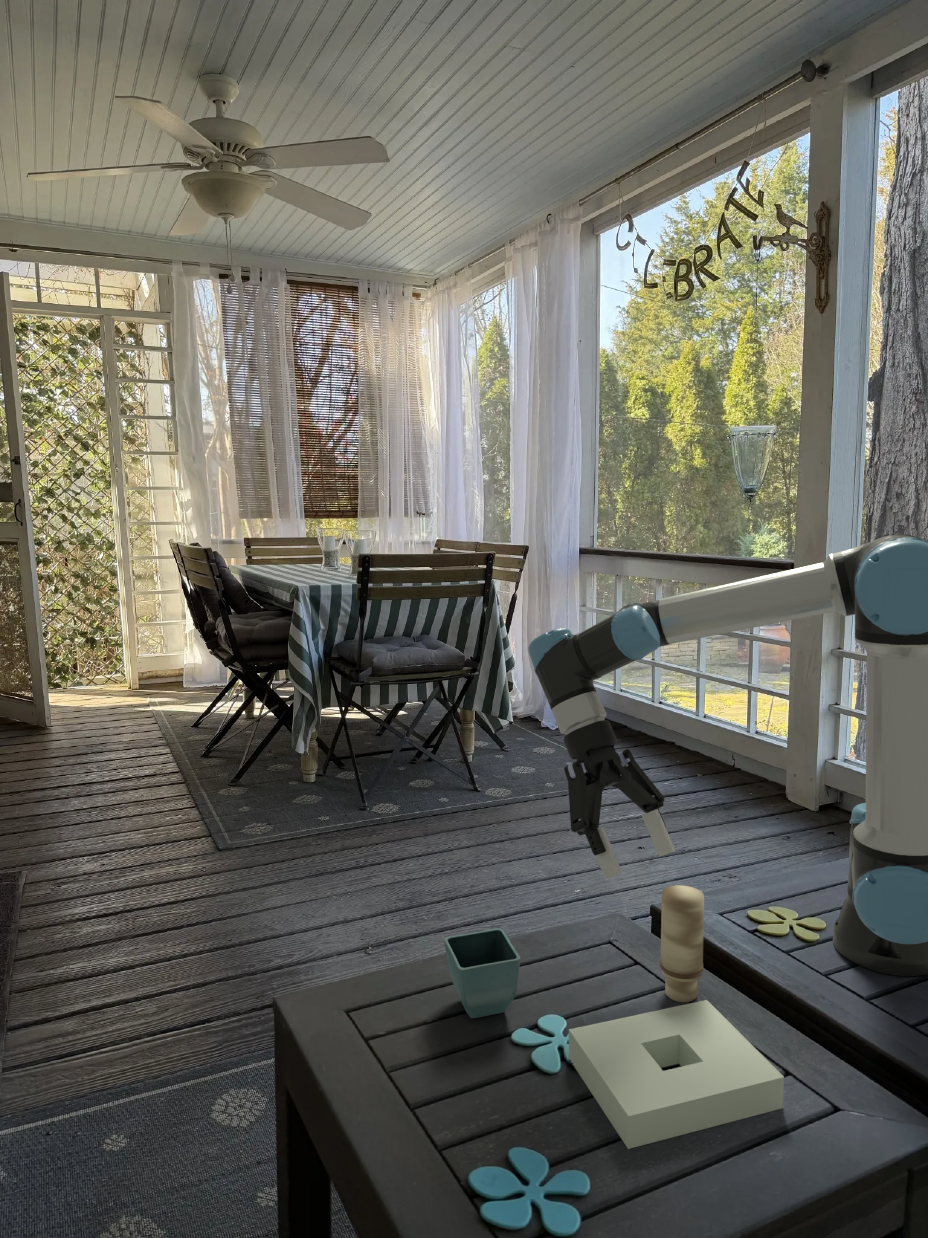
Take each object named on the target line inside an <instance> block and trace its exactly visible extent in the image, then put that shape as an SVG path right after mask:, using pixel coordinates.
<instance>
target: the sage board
mask: <svg viewBox="0 0 928 1238" xmlns="http://www.w3.org/2000/svg"><path fill="white" fill-rule="evenodd" d="M741 1033H742V1032H741ZM741 1033H740V1031H739V1030H738V1029H737V1028H736V1027H734V1025H733V1024H731V1022H730V1021H729V1020H728V1019H727V1018H725V1016H724V1015H722V1013H721V1012H720V1011H719V1010H718V1009H717V1008H715V1007H714V1005H712V1003H711V1002H710V1001H708V1000H707V999H704V1000H699V1001H695V1002H691V1003H686V1004H682V1005H675V1006H673V1007H666V1008H664V1009H663V1008H662V1009H659V1010H654V1011H649V1012H643V1013H639V1014H634V1015H630V1016H626V1017H620V1018H616V1019H611V1020H608V1021H602V1022H601V1021H600V1022H598V1023H592V1024H589V1025H587V1024H586V1025H583V1026H578V1027H574V1028H569V1029H568V1059H569V1058H570V1059H569V1061H570V1060H571V1061H572V1062H573V1064H572V1065H573V1067H574V1069H575V1070H576V1072H577V1074H578V1075H579V1076H580V1078H581V1079H582V1081H583V1082H584V1084H585V1086H586V1087H587V1088H588V1090H589V1092H590V1093H591V1095H592V1096H593V1098H594V1099H595V1101H596V1102H597V1104H598V1105H599V1107H600V1108H601V1110H602V1111H603V1113H604V1114H605V1116H606V1117H607V1119H608V1120H609V1122H610V1123H611V1126H612V1127H613V1128H614V1129H615V1131H616V1133H617V1134H618V1136H619V1137H620V1139H621V1140H622V1142H623V1143H624V1145H625V1146H626V1149H627V1150H630V1149H633V1148H636V1147H637V1148H638V1147H641V1146H645V1145H649V1144H652V1143H656V1142H660V1141H664V1140H669V1139H671V1138H676V1137H679V1136H683V1135H686V1134H690V1133H694V1132H698V1131H702V1130H706V1129H709V1128H713V1127H716V1126H721V1125H724V1124H728V1123H733V1122H736V1121H740V1120H744V1119H747V1118H751V1117H754V1116H758V1115H759V1116H760V1115H762V1114H766V1113H771V1112H774V1111H778V1110H782V1109H784V1089H785V1087H784V1086H785V1085H784V1084H785V1076H784V1075H783V1074H782V1073H781V1072H780V1071H779V1070H778V1069H777V1068H776V1067H775V1066H774V1065H773V1064H772V1063H771V1062H770V1061H769V1060H768V1059H767V1058H766V1057H764V1055H763V1054H762V1053H761V1052H760V1051H759V1050H758V1049H756V1047H754V1045H752V1043H751V1042H750V1041H749V1040H748V1039H746V1037H744V1035H743V1034H741ZM571 1061H570V1062H571ZM572 1062H571V1063H572ZM678 1064H679V1066H678V1067H674V1068H672V1069H671V1068H670V1069H667V1070H663V1069H662V1068H667V1067H670V1066H674V1065H678Z"/></svg>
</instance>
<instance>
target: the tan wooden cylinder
mask: <svg viewBox="0 0 928 1238" xmlns="http://www.w3.org/2000/svg"><path fill="white" fill-rule="evenodd" d="M660 917H661V921H660V922H661V923H660V924H661V926H660V927H661V928H660V960H659V967H660V972H661V973H662V974H663V976H664V978H665V979H664V982H665V983H664V987H665V988H664V993H665V995H666V996H667V997H668V998H669V999H671V1000H672V1001H675V1002H678V1003H689V1002H693V1001H694V1000H696V999H697V996H698V980H700V979H701V978H702V976H703V973H704V962H703V961H704V931H705V930H704V925H705V923H704V922H705V919H704V918H705V894H704V893H703V892H702V891H701V890H700V889H697V888H695V887H692V886H687V885H677V884H676V885H670V886H667V887H665V888H663V889H662V891H661V916H660Z"/></svg>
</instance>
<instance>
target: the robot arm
mask: <svg viewBox="0 0 928 1238" xmlns="http://www.w3.org/2000/svg"><path fill="white" fill-rule="evenodd" d="M829 613H838V614H839V615H841V616H843V617H847V616H848V617H849V616H854V641H856V643H857V644H859V645H860V646H861V647H862V648H863V649H864V650H865V652H866V704H865V705H866V708H865V709H866V716H865V717H866V723H865V724H866V725H865V727H866V728H865V729H866V731H865V802H862V803H859V804H857V805H855V806H854V807H852V808H853V809H851V816H850V820H849V824H850V831H849V832H850V834H849V852H848V853H849V854H848V873H847V892H846V893H847V894H846V898H845V899H844V902H843V904H842V907H841V909H840V911H839V915H838V917H837V919H836V920H835V921H834V924H833V929H832V943H833V945H834V948H835V949H836V950H837V951H838V953H840V954H841V956H843V957H845V959H847V960H849V961H851V963H852V962H853V963H854V964H856V965H858V966H861V967H862V968H865V969H868V970H871V971H873V972H874V971H875V972H877V973H881V974H886V975H892V976H898V977H899V976H900V977H917V976H923V975H927V974H928V540H926V539H923V538H921V537H918V536H915V535H910V534H903V533H902V534H901V533H897V534H889V535H886V536H883V537H880V538H877V539H874V540H871V541H869V542H867V543H864V544H861V545H857V546H855V547H852V548H847V549H843V550H841V551H836V552H833V553H832V552H831V553H829V554H828V556H827V557H826V559H825V560H824V561H823V562H818V563H814V564H810V565H805V566H801V567H796V568H793V569H788V570H783V571H779V572H775V573H770V574H765V575H761V576H756V577H753V578H748V579H747V578H746V579H743V580H739V581H734V582H731V583H726V584H721V585H717V586H712V587H707V588H703V589H698V590H695V591H690V592H685V593H681V594H677V595H672V596H669V597H668V596H667V597H664V598H663V597H662V598H660V599H657V600H651V601H647V602H633V603H629V604H626V605H624V606H623V607H622V608H620V609H619V610H618V611H617V612H615V613H614V614H612V615H610V616H608V617H607V618H605V619H603V620H601V621H600V622H598V623H596V624H594V625H592V626H591V627H589V628H587V629H585V630H583V631H581V632H578V633H576V634H573V633H572V631H571V630H570V629H569V628H566V627H558V628H555V629H552V630H550V631H548V632H543V633H542V634H540V635H538V636H537V637H535V638H534V639H533V640H532V641H531V642H530V644H529V645H528V654H529V656H530V659H531V663H532V666H533V671H534V674H535V675H536V677H537V680H538V681H539V684H540V686H541V688H542V690H543V693H544V695H545V698H546V700H547V703H548V705H549V708H550V710H551V712H552V713H553V717H554V720H555V722H556V724H557V726H558V730H559V732H560V734H562V735H564V737H563V743H564V745H565V749H566V751H567V753H568V755H569V757H570V759H571V760H573V761H574V762H571V763H570V764H568V765H566V766H564V768H563V769H564V774H565V777H566V780H567V785H568V788H567V789H568V802H569V803H568V804H569V805H568V806H569V818H570V819H569V820H570V821H569V822H570V828H571V831H572V832H573V833H577V835H578V836H584V835H585V837H586V840H587V842H588V845H589V847H590V849H591V852H592V853H593V855H594V856H595V858H596V860H597V863H598V866H599V867H600V870H601V873H602V875H603V878H604V879H605V880H607V879H609V878H612V877H615V876H617V875H620V874H622V873H623V870H622V869H621V866H620V864H619V860H618V859H617V855H616V854H615V852H614V848H613V846H612V844H611V842H610V839H609V836H608V835H607V831H606V829H605V826H604V827H601V828H599V827H600V817H601V811H602V809H601V808H602V800H603V799H602V798H603V791H604V789H605V788H608V787H613V788H617V789H618V790H619V791H621V793H623V794H624V795H625V796H626V797H627V798H628V799H629V800H631V802H632V803H634V804H635V805H636V806H637V807H638V808H639V809H640V810H642V811H643V812H644V814H642V815H641V817H642V821H643V823H644V825H645V827H646V829H647V831H648V834H649V836H650V838H651V841H652V843H653V846H654V848H655V851H656V853H657V855H658V857H659V858H660V857H663V856H665V855H668V854H670V853H673V852H676V851H677V850H676V848H675V846H674V844H673V841H672V838H671V837H670V834H669V832H668V829H667V825H666V823H665V821H664V818H663V815H662V814H661V811H660V809H661V808H662V807H664V802H665V796H664V795H663V794H662V793H661V791H660V790H659V789H658V787H657V786H656V785H655V784H654V783H653V781H652V780H651V779H650V777H649V776H648V775H647V774H646V772H645V771H644V770H643V768H641V766H640V765H639V764H638V763H637V761H636V759H635V757H634V755H633V754H632V751H631V750H630V749H629V748H626V749H623V750H622V751H619V752H617V751H616V750H615V745H616V744H617V742H618V739H617V736H616V734H615V732H614V729H613V726H612V724H611V723H610V721H608V719H605V718H606V717H607V715H608V714H607V712H606V709H605V707H604V705H603V703H602V701H601V698H600V697H599V694H598V691H597V689H596V687H595V685H594V681H595V680H598V679H600V678H601V677H603V676H605V675H608V674H610V673H612V672H614V671H616V670H617V671H618V670H619V669H620V668H623V667H626V666H627V665H629V664H631V663H633V662H635V661H640V660H643V659H644V658H645V657H646V656H648V655H650V654H651V653H653V652H654V651H655V652H656V650H658V649H659V648H660V647H665V646H669V645H673V644H677V643H683V642H688V641H692V640H698V639H703V638H708V637H714V636H718V635H723V634H728V633H734V632H739V631H744V630H748V629H753V628H758V627H763V626H768V625H773V624H774V625H775V624H778V623H784V622H789V621H793V620H798V619H803V618H809V617H814V616H820V615H824V614H829Z"/></svg>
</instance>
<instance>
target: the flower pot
mask: <svg viewBox="0 0 928 1238" xmlns="http://www.w3.org/2000/svg"><path fill="white" fill-rule="evenodd" d="M443 939H444V940H443V941H444V947H445V955H446V961H447V966H448V967H447V968H448V971H449V972H448V973H449V975H450V979H451V981H452V984H453V986H454V989H455V991H456V992H457V995H458V997H459V999H460V1002H461V1004H462V1006H463V1009H464V1010H465V1012H466V1014H467V1015H468V1017H469V1018H470V1019H478V1018H482V1017H483V1018H484V1017H488V1016H493V1015H497V1014H503V1013H505V1012H506V1011H507V1010H508V1009H509V1007H510V1006H511V1005H512V1002H513V1001H514V999H515V997H516V994H517V991H518V986H519V983H518V982H519V976H520V967H521V956H520V954H519V953H518V951H517V950H516V948H515V947H514V946H513V944H512V942H511V941H510V939H509V937H508V936H507V934H506V932H505V931H504V930H503V929H502V928H492V929H487V930H482V931H476V932H475V931H474V932H470V933H464V934H459V935H458V934H457V935H451V936H447V937H444V938H443Z"/></svg>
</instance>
